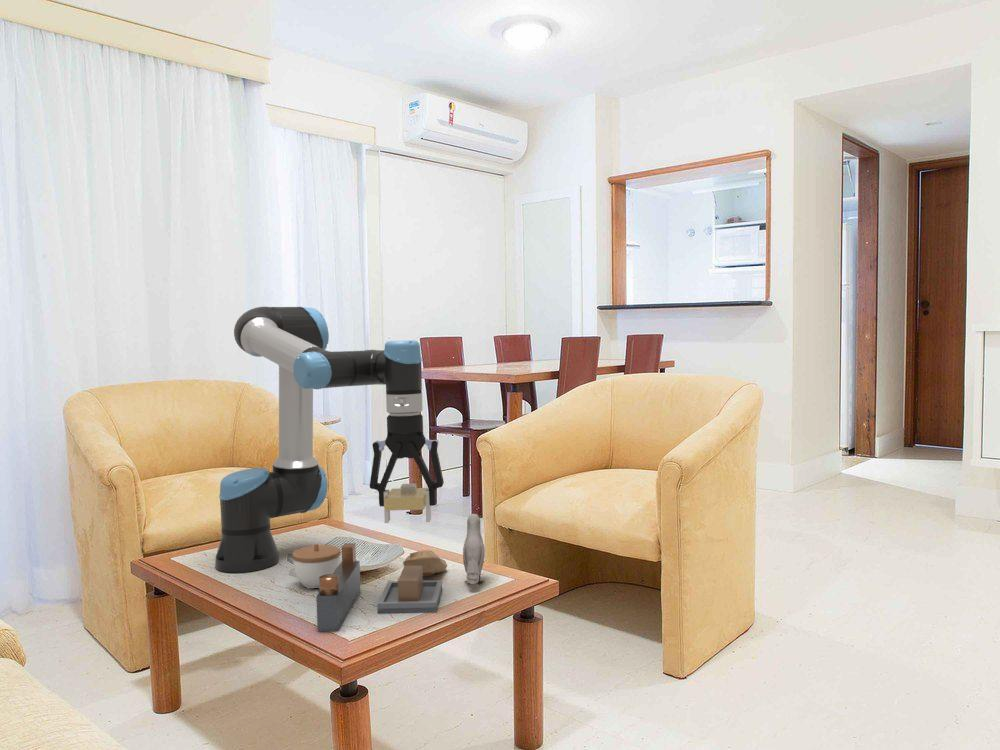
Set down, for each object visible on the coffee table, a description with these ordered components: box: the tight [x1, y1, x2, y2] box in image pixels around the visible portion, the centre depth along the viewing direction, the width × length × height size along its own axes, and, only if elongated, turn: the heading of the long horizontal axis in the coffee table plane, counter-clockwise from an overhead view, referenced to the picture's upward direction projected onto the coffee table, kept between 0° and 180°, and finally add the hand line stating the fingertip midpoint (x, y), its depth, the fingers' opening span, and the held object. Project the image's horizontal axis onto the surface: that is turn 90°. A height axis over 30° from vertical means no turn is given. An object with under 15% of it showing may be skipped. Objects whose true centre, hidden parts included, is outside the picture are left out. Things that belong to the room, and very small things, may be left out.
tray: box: [376, 565, 443, 614], centre depth 159 cm, size 14×12×6 cm
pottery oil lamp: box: [402, 549, 448, 577], centre depth 175 cm, size 9×12×7 cm
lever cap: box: [384, 483, 429, 511], centre depth 158 cm, size 10×8×4 cm
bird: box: [462, 513, 486, 586], centre depth 169 cm, size 5×14×15 cm, turn 179°
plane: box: [315, 542, 362, 633], centre depth 154 cm, size 22×4×11 cm, turn 0°
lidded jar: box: [291, 543, 342, 589], centre depth 171 cm, size 11×11×9 cm
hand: (408, 520), depth 158 cm, fingers closed on lever cap, 8 cm apart
